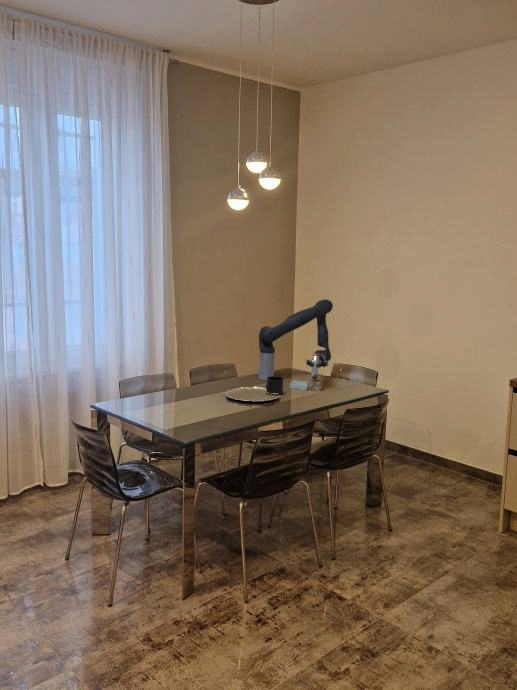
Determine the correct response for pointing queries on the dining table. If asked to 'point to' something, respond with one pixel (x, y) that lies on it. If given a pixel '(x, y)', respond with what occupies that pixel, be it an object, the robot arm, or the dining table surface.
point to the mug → (274, 384)
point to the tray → (298, 385)
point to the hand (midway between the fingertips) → (314, 365)
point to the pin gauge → (315, 366)
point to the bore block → (314, 384)
